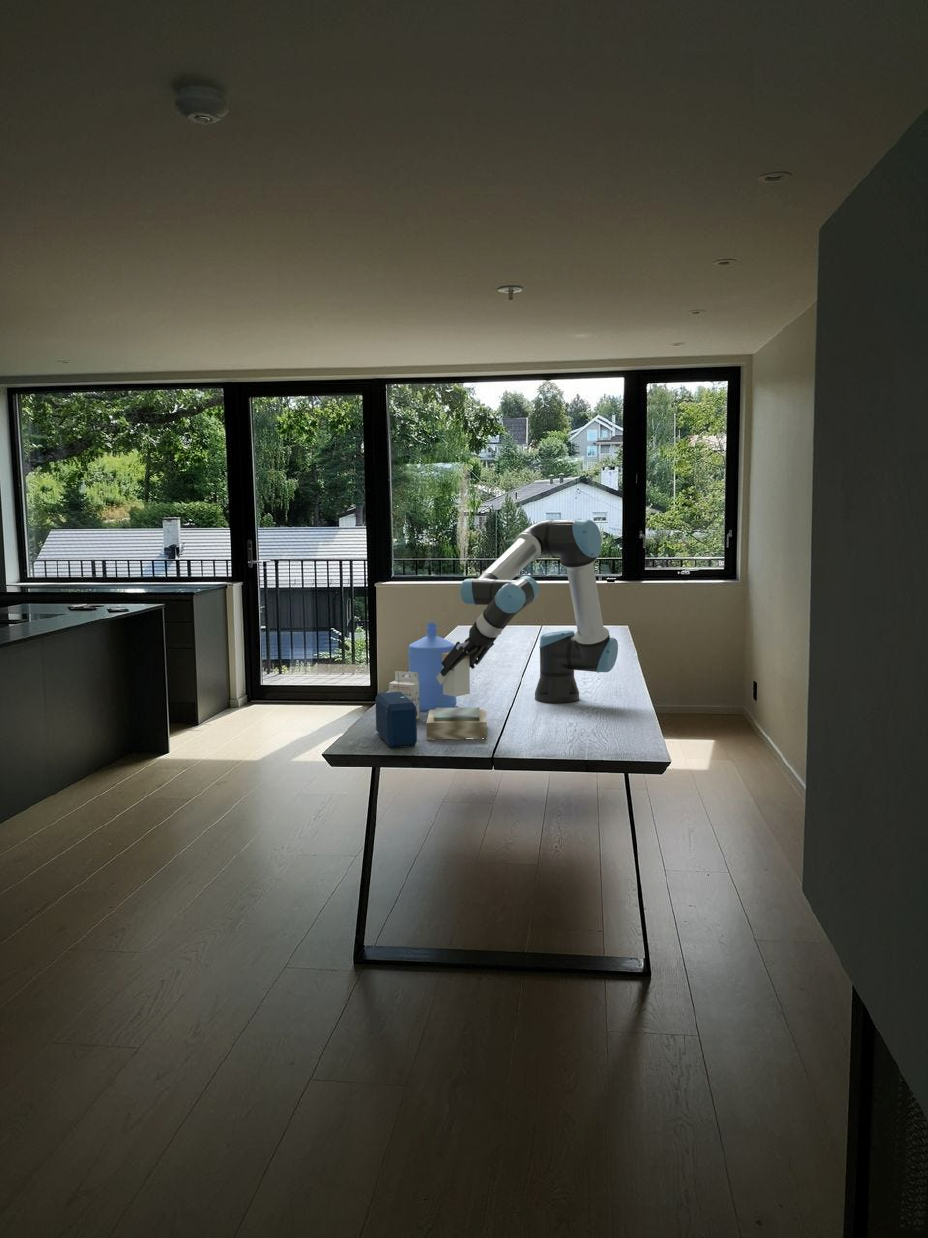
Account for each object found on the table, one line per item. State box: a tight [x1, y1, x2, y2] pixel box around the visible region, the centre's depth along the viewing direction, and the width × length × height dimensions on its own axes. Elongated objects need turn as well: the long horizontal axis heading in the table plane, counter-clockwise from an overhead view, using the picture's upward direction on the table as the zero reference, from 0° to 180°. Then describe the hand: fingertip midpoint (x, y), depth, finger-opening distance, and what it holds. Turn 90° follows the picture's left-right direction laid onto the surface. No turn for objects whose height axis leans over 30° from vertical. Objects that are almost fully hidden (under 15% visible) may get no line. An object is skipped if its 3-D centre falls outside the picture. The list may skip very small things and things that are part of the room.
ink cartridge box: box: [388, 670, 420, 720], centre depth 287 cm, size 9×5×15 cm, turn 71°
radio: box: [375, 677, 418, 749], centre depth 261 cm, size 21×9×20 cm, turn 17°
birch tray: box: [425, 706, 488, 741], centre depth 269 cm, size 17×17×6 cm
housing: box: [442, 652, 471, 698], centre depth 267 cm, size 5×6×12 cm
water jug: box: [407, 622, 457, 713], centre depth 303 cm, size 16×16×28 cm
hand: (447, 679), depth 270 cm, fingers closed on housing, 6 cm apart
